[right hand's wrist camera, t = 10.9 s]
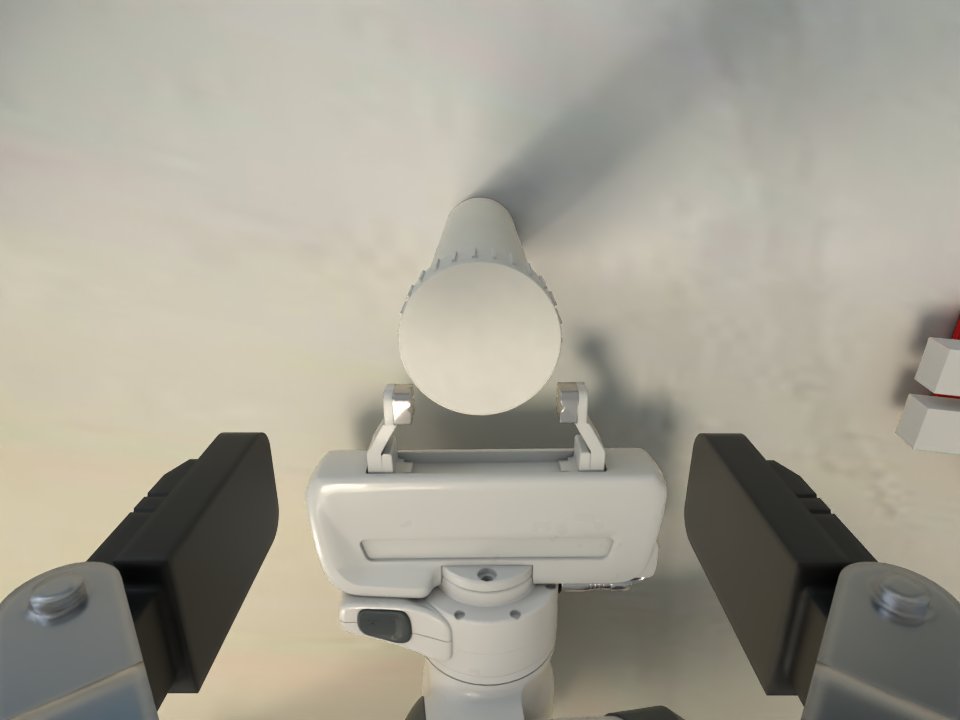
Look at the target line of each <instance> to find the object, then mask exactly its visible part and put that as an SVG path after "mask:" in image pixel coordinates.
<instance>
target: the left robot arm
mask: <svg viewBox="0 0 960 720" xmlns="http://www.w3.org/2000/svg"><path fill="white" fill-rule="evenodd" d="M557 393H558V397H557V401H556V409H557V414H559V421H560V423H575V425H576V427H577V428H578V430H579V432H580V434H577V435H576V436H575V442H574V448H552V449H444V450H398V448H397V438H396V437H395V436H391V435H392V433H393V431H394V429H395V427H396V426H397V425H403V424H412V420H413V415H414V411H415V404H414V399H413V394H414V387H413V384H386V387H385V390H384V395H383V407H384V417H383V419H382V421H381V423H380V424H379V426H378V428H377V430H376V432H375V433H374V435H373V437H372V440H371V443H370V446H369V449H368V450H335V451H330V452H328V453H327V454H326V455H325V456H324V457H323V458H322V460H321V461H320V462H319V463H318V465H317V466H316V467H315V469H314V471H313V473H312V475H311V477H310V480H309V482H308V485H307V489H306V507H307V513H308V519H309V524H310V529H311V533H312V538H313V541H314V545H315V549H316V552H317V556H318V559H319V562H320V565H321V567H322V570H323V572H324V574H325V575H326V577H327V579H328V580H329V581H330V582H331V583H332V584H333V585H334V586H335V587H336V588H338V589H339V590H341V591H342V592H341V597H340V606H339V621H340V624H341V626H342V628H343V629H344V630H346V631H347V632H350V633H352V634H356V635H359V636H364V637H368V638H372V639H376V640H380V641H384V642H387V643H391V644H394V645H398V646H401V647H404V648H407V649H409V650H412V651H415V652H417V653H420V654H422V655H424V656H425V659H426V662H425V665H424V670H423V675H422V697H421V698H420V699H419V700H418V701H417V702H416V703H415V705H414V706H413V708H412V709H411V711H410V712H409V714H408V716H407V717H406V719H405V720H684V719H683V718H681V717H680V716H678V715H677V714H675V713H674V712H672V711H671V710H670V709H668V708H666V707H664V706H654V707H648V708H641V709H634V710H628V711H621V712H614V713H608V714H606V715H605V716H599V717H579V718H558V719H552V710H553V698H554V675H553V670H552V666H551V663H550V659H551V657H552V654H553V652H554V648H555V643H556V634H557V611H558V593H560V592H585V591H593V590H602V589H603V590H610V591H626V590H630V589H631V588H632V584H637V583H640V582H642V581H644V580H646V579H647V578H649V577H651V576H653V574H654V573H655V571H656V568H657V560H658V551H659V542H658V539H657V538H658V535H659V531H660V527H661V524H662V519H663V515H664V510H665V505H666V499H667V485H666V482H665V479H664V477H663V474H662V472H661V470H660V468H659V467H658V465H657V464H656V462H655V461H654V460H653V459H652V457H651V456H650V455H649V454H648V453H647V452H646V451H645V450H644V449H641V448H604V447H603V444H602V441H601V439H600V436H599V434H598V432H597V430H596V428H595V427H594V425H593V423H592V422H591V420H590V418H589V417H588V415H587V409H588V392H587V388H586V386H585V383H584V382H563V383H557Z"/></svg>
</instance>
